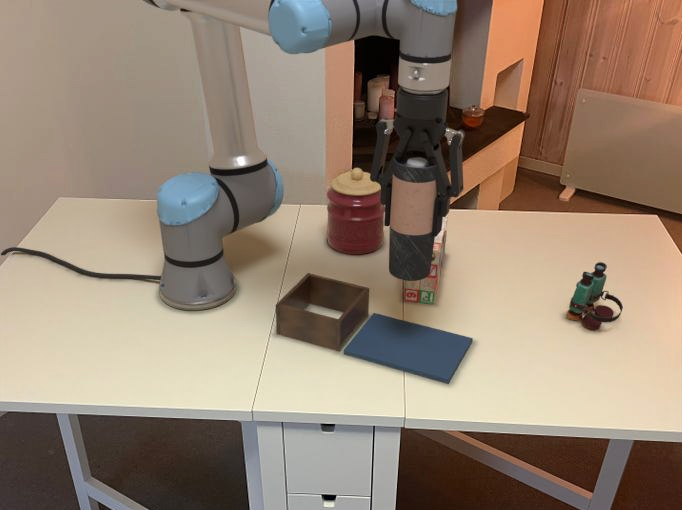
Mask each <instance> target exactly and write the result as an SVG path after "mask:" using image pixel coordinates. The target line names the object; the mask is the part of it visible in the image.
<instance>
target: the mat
mask: <svg viewBox="0 0 682 510" xmlns="http://www.w3.org/2000/svg"><path fill="white" fill-rule="evenodd" d="M473 340H474V338H473V337H470V336H466V335H461V334H458V333H455V332H450V331H447V330H443V329H439V328H434V327H432V326H427V325H424V324H419V323H416V322H411V321H408V320H403V319H400V318H397V317H392V316H389V315H384V314H380V313H377V312H373V313H372V314H371V315H370V317H368V318H367V319H366V321H365V322H364V323H363V324H362V326H361V327H360V328H359V329H358V331H357V332H356V333H355V334H354V336H353V337H352V338H351V339H350V341H349V342H348V343H347V344H346V347H344V348H343V355H345V356H348V357H352V358H356V359H359V360H363V361H366V362H369V363H373V364H376V365H380V366H384V367H388V368H391V369H394V370H397V371H400V372H401V371H402V372H404V373H408V374H413V375H416V376H420V377H422V378H426V379H430V380H434V381H437V382H441V383H444V384H447V385H448V384H450V382H451V381H452V379H453V377H454V375H455V373H456V371H458V369H459V367H460V364H461V363H462V361H463V359H464V358H465V356H466V354H467V352H468V351H469V349H470V348H471V345H472V344H473Z"/></svg>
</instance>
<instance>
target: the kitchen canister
mask: <svg viewBox="0 0 682 510" xmlns="http://www.w3.org/2000/svg"><path fill="white" fill-rule="evenodd" d="M370 174H371V172H366V171H363V169H361V168H360V167H354V168H353V169H352V170H351V171H346V172H343V173H341V174H339V175H338V176H336V177H334V178H333V179H332V180H331V182H330V188H329V189H328V190H327V192H326V197H327V199H328V200H329V201H328V204H327V205H326V206H327V207H326V210H327V230H326V238H327V243H328V245H329V247H330V248H332V249H333V250H335V251H337V252H339V253H342V254H346V255H347V254H349V255H365V254H370V253H373V252H376V251H377V250H379V249H381V247H382V246H383V241H384V239H385V230H384V227H385V226H384V219H385V205H382V204H381V202H380V196H381V186H380V184H379V183H377V182H372V181H371V180H370Z"/></svg>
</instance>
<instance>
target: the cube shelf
mask: <svg viewBox="0 0 682 510" xmlns="http://www.w3.org/2000/svg"><path fill="white" fill-rule="evenodd" d="M370 290H371V289H370V287H367V286H363V285H359V284H355V283H350V282H346V281H342V280H339V279H334V278H330V277H326V276H323V275H318V274H315V273H314V274H313V273H310V272H307V273H306V274H305V275H304V276H303V277H302V278H301V279H299V281H298V282H297V283H296V284H295V285H294V286H293V287H292V288H291V289H290V290H289V291H288V292H287V293H286V294H285V295H284V296H283V297H282V298H281V299H280V300H279V301H278V302H277V303H276V304H275V324H276V335H279V336H283V337H286V338H290V339H293V340H297V341H300V342H304V343H308V344H311V345H314V346H318V347H322V348H325V349H329V350H332V351H336V352H341V351H342V350H344V348H345V346H347V345H348V343H349V342H350V341H351V340H352V339H353V337H354V336H355V335H356V334H357V332H358V331H359V330H360V329H361V327H362V326H363V325H364V324H365V322H366V321H367V320H368V319H369V316H370V315H369V311H370ZM310 305H314V306H318V307H322V308H325V309H328V310H332V311H337V312H341V313H342V314H341V316H339V318H336V317H333V316H327V315H326V314H325V315H324V314H320V313H317V312H313V311H309V310H306V308H307V307H308V306H310Z"/></svg>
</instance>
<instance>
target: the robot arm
mask: <svg viewBox="0 0 682 510" xmlns="http://www.w3.org/2000/svg"><path fill="white" fill-rule="evenodd" d="M142 1H143V2H144V3H146V4H148V5H150V6H152V7H154V8H158V9H161V10H165V11H169V12H174V11H178V10H179V12H180V14H181V15H182V16H184V18H186V19H187V20H188V21H189V22H190V25H191V31H192V36H193V42H194V46H195V47H194V48H195V54H196V58H197V65H198V70H199V76H200V80H201V86H202V87H201V88H202V91H203V98H204V104H205V108H206V115H207V120H208V125H209V130H210V136H211V143H212V147H213V155H212V156H211V158H210V159H209V160H208V168H209V173H207V172H201V171H193V172H191V173H187V172H184V173H181V174H178V175H175V176H173V177H170V178H168V179H167V180H166V181H164V183H162V185H161V186H159V189H158V190H157V193H156V207H157V208H156V216H157V218H158V223H159V229H160V236H161V243H162V244H161V245H162V251H163V256H164V261H163V267H162V270H161V271H162V272H161V275H154V274H153V275H151V274H137V273H135V274H133V273H107V272H106V273H105V272H95V271H90V270H87V269H84V268H81V267H79V266H76V265H75V264H73V263H70V262H68V261H66V260H63V259H60V258H58V257H56V256H54V255H52V254H50V253H47V252H45V251H41V250H35V249H31V248H30V249H29V248H25V247H18V246H16V247H15V246H13V247H8V248H6V249H3V251H2V252H1V253H0V256H6V255H7V254H8V253H11V252H20V253H25V254H31V255H36V256H42V257H44V258H47V259H49V260H50V261H53V262H55V263H57V264H60V265H62V266H65V267H67V268H69V269H71V270H73V271H75V272H77V273H80V274H82V275H85V276H91V277H96V278H104V279H134V280H135V279H136V280H150V281H151V280H153V281H159V286H158V288H159V289H158V290H159V295H160V298H161V300H162V302H164V303H165V304H167V306H169V307H172V308H175V309H179V310H183V311H204V310H209V309H214V308H216V307H219V306H222V305H224V304H225V303H227V302H228V301H230V300H231V299H232V298H233V297H234V295H235V294H236V290H237V289H236V288H237V286H236V285H237V284H236V279H237V278H236V274H233V272H232V271H231V268H230V266H229V264H228V263H229V262H228V261H227V259H226V257H225V252H224V243H223V241H224V240H223V239H224V237H227V236H229V235H232V234H233V233H235V232H238V231H241V230H243V229H245V228H247V227H249V226H252V225H255V224H258V223H262V222H263V221H265V220H266V219H267V218H269V217H271V216H273V215H275V213H277V211H278V210H279V209H280V208H281V205H282V203H283V199H284V189H285V188H284V181H283V178H282V175H281V173H280V172H278V167H277V166H276V165H275V164H274V163H273V162H272V161H270V160H269V159H268V155H267V154H266V152H265V151H263V150H262V149H260V148H259V147H258V140H257V134H256V127H255V120H254V115H253V107H252V101H251V100H252V99H251V94H250V87H249V86H250V85H249V80H248V74H247V67H246V60H245V54H244V53H245V52H244V47H243V40H242V36H241V34H242V33H241V28H242V29H246V30H250V31H253V32H256V33H259V34H262V35H265V36H268V37H271V39H272V41H273V43H274V44H276V45H277V46H278V47H279V48H280V50H281V51H282V52H284V53H286V54H288V55H300V54H312V53H315V52H317V51H319V50H322V49H326V48H329V47H333V46H336V45H339V44H343V43H347V42H351V41H355V40H359V39H363V38H368V37H370V36H379V37H382V38H388V39H392V40H397V41H398V40H399V55H398V56H399V59H398V74H397V75H398V78H397V84H398V85H399V87H398V88H397V94H396V110H395V111H396V115H395V116H394V119H389V118H388V117H383V118H382V119H380V120H379V121H378V122H377V123H376V124H375V129H376V135H377V137H376V143H375V148H374V154H373V159H372V164H371V169H370V180H371V181H372V182H377V183H379V184H380V186H381V196H380V202H381V204H382V205H384V206H385V212H384V227H390V213H391V197H392V182H393V166H394V158H395V160H396V161H397V162H398V163H399V162H400V161H401V160H402V159H403V158H404V156H405V154H406V152H407V151H409V150H410V151H411V150H419V151H422V152H425V153H426V156H427V158H428V159H429V161H430V164H431V166H435V165H436V166H437V168H436V180H435V181H436V184H437V188H438V191H439V195H438V196H437V197H436V198H435V205H434V217H433V228H432V236H435V237H436V236H437V235H438V234H439V233H440V231H441V230H442V220H443V217H447V215H449V212H450V209H451V208H450V207H451V199H452V198H458V197H459V196H460V195H461V193H463V191H464V167H463V166H464V165H463V143H464V140H465V136H466V132H465V130H463V129H459V130H455V129H453V128H450V127H449V125H448V123H447V112H448V111H447V110H448V100H449V99H448V98H449V90H448V89H447V88H448V87H449V86H450V79H451V69H452V67H451V66H452V52H453V51H452V49H453V41H454V32H455V23H456V16H457V11H458V3H457V2H458V1H457V0H142ZM393 131H395V133H396V134H397V136H398V137H399V141H398V143H397V146H396V147H395V151H394V153H393V155H392V157H391V159H390V161H389V163H388V165H387V167H386V169H385V172H384V168H385V163H386V158H387V152H388V148H389V143H390V139H391V133H392V132H393ZM444 137H446V141H447V145H448V146H449V150H448V155H449V173H450V174H449V175H450V176H449V175H448V172H447V171H448V170H447V168H446V164H445V161H444V157H443V153H442V147H441V146H442V145H441V142H440V141H441V140H442V139H443V138H444ZM449 177H450V178H449Z"/></svg>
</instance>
